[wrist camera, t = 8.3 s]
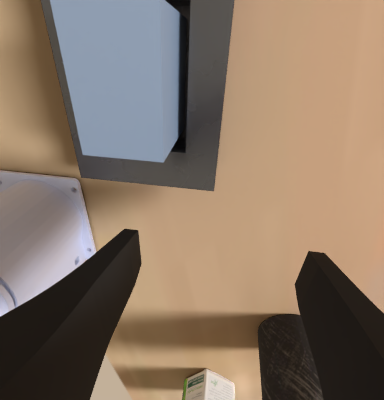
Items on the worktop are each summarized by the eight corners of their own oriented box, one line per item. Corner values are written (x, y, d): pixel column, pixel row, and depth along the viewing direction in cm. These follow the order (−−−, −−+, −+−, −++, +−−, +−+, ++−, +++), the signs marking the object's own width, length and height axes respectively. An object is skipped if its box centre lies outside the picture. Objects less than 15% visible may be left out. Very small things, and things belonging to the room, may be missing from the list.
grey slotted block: (216, 168, 18) (213, 196, 15) (104, 157, 19) (75, 182, 15) (264, -280, 9) (289, -518, 5) (36, -264, 10) (-83, -460, 6)
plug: (183, 128, 16) (163, 162, 11) (127, 124, 17) (82, 154, 11) (186, 18, 13) (160, -4, 8) (116, 15, 13) (48, -8, 8)
